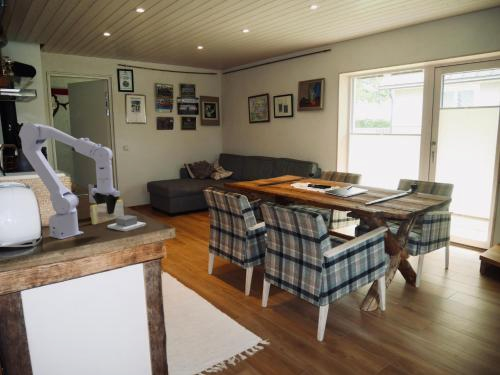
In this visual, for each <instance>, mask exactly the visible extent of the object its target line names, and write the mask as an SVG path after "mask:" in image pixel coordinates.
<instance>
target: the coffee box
mask: <svg viewBox="0 0 500 375" xmlns="http://www.w3.org/2000/svg"><path fill="white" fill-rule="evenodd" d="M92 188H97V182H93V183H88V197H89V198H88V200H89V207H90V206H93V205H97V203H96V201H95V200H94V198H93V195H95V194H96V193H92V190H91V189H92ZM107 196H108V195H107ZM89 215H90V217H89V218H91V209H90V208H89Z"/></svg>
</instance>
